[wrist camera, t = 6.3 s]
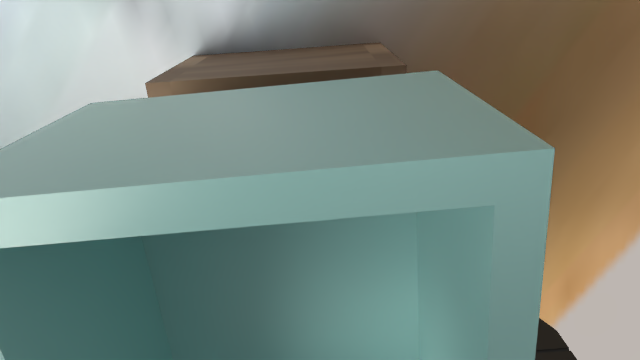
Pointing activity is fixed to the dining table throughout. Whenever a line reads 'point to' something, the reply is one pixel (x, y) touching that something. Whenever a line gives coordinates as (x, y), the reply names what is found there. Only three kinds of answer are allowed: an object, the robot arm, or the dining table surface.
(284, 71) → the walnut crate
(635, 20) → the dining table surface
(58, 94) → the dining table surface
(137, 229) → the teal crate
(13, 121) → the dining table surface
